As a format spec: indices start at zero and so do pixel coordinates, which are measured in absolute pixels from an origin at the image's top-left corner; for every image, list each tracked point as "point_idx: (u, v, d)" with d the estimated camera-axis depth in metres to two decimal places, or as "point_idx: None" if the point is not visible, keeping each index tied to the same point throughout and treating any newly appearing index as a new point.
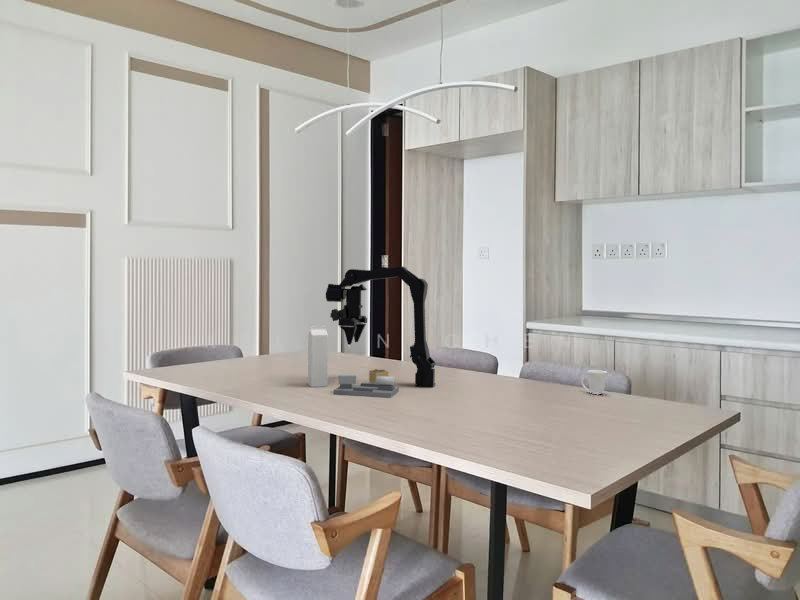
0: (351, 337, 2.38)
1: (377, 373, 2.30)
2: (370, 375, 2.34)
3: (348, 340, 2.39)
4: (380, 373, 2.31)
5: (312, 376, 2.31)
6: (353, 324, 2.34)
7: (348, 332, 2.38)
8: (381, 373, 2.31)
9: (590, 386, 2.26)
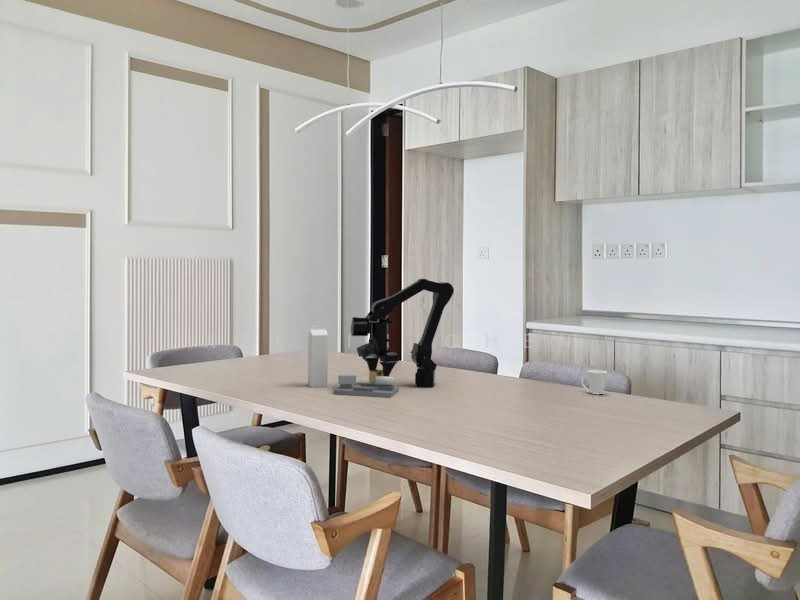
0: (389, 372, 2.29)
1: (377, 373, 2.30)
2: (370, 375, 2.34)
3: None
4: (380, 373, 2.31)
5: (312, 376, 2.31)
6: (398, 359, 2.27)
7: (386, 367, 2.29)
8: (381, 373, 2.31)
9: (590, 386, 2.26)
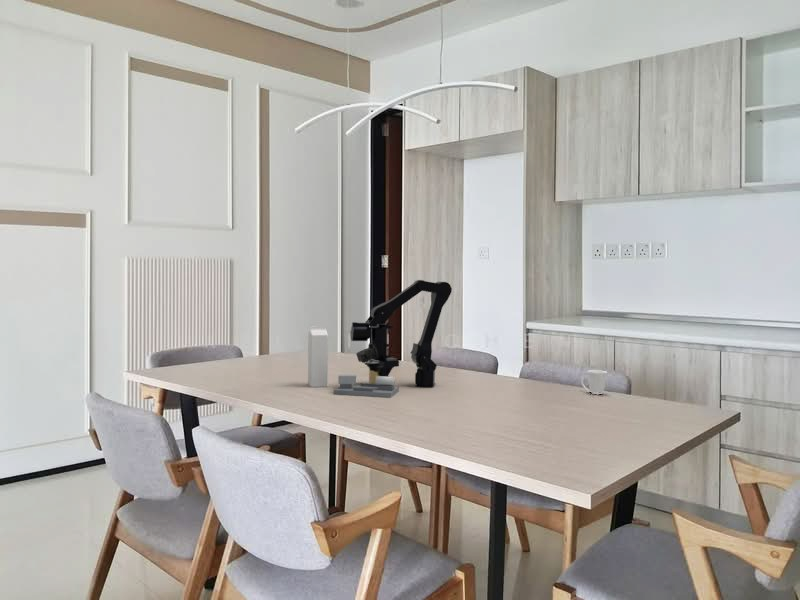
0: None
1: (377, 373, 2.30)
2: (370, 375, 2.34)
3: None
4: None
5: (312, 376, 2.31)
6: (398, 364, 2.27)
7: (383, 372, 2.30)
8: None
9: (590, 386, 2.26)
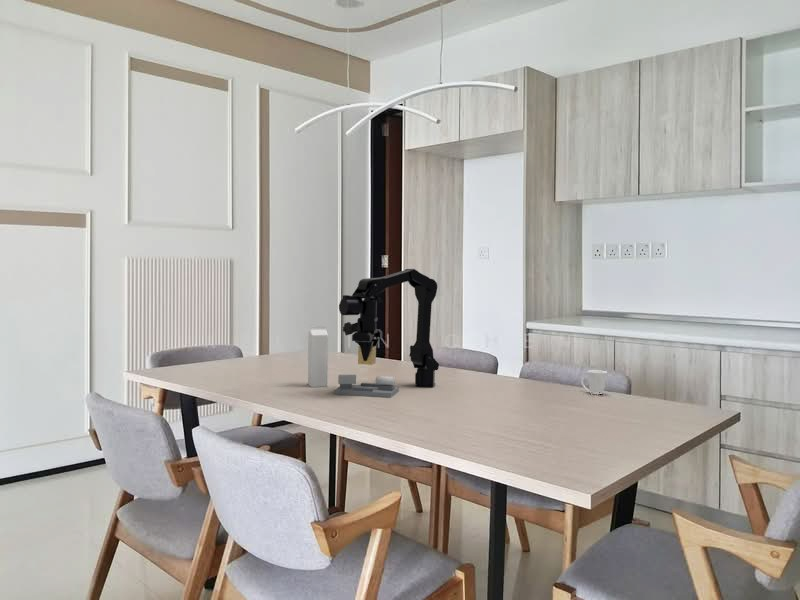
0: (367, 353, 2.18)
1: (359, 348, 2.20)
2: None
3: (364, 356, 2.19)
4: None
5: (312, 376, 2.31)
6: (368, 339, 2.12)
7: (364, 347, 2.18)
8: None
9: (590, 386, 2.26)
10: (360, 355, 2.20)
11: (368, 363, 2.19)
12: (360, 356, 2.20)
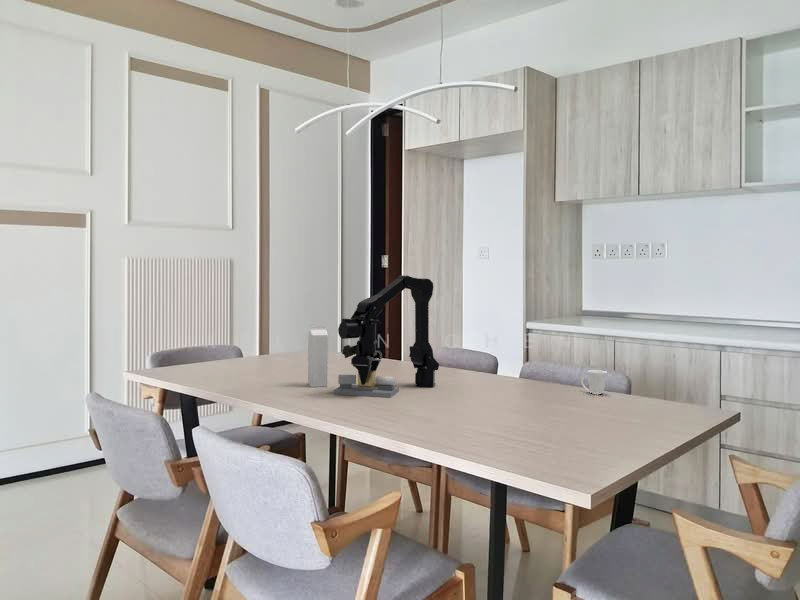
0: (365, 377, 2.16)
1: None
2: None
3: (362, 380, 2.17)
4: None
5: (312, 376, 2.31)
6: (368, 363, 2.12)
7: (362, 371, 2.16)
8: None
9: (590, 386, 2.26)
10: (359, 380, 2.20)
11: None
12: (360, 381, 2.20)
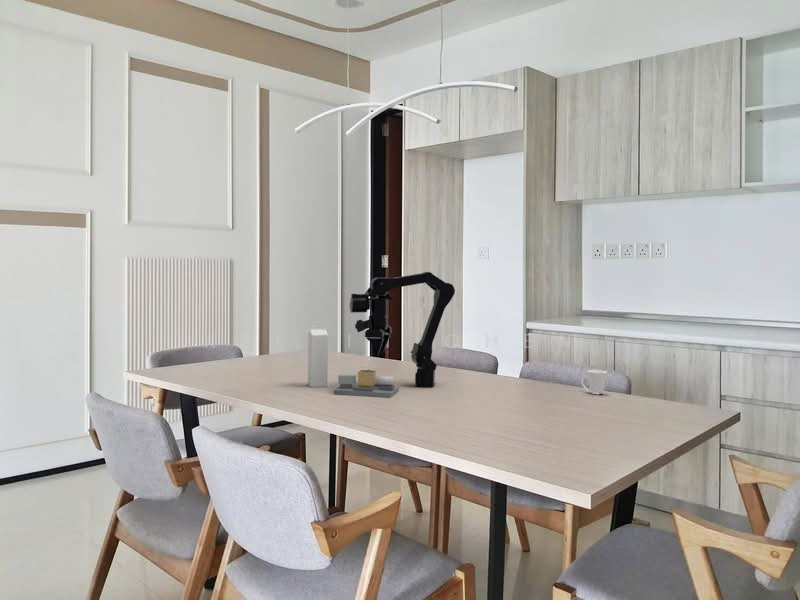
0: (378, 349, 2.28)
1: (359, 373, 2.20)
2: None
3: (375, 352, 2.28)
4: (362, 373, 2.19)
5: (312, 376, 2.31)
6: (381, 335, 2.24)
7: (375, 343, 2.28)
8: (364, 373, 2.19)
9: (590, 386, 2.26)
10: (359, 380, 2.20)
11: None
12: (360, 381, 2.20)
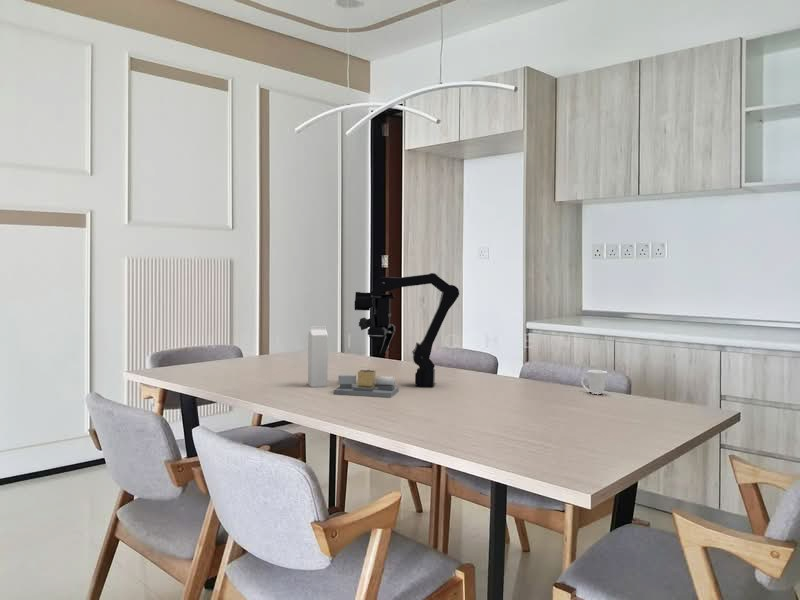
0: (380, 347, 2.31)
1: (359, 373, 2.20)
2: None
3: (377, 350, 2.32)
4: (362, 373, 2.19)
5: (312, 376, 2.31)
6: (383, 333, 2.28)
7: (377, 341, 2.32)
8: (364, 373, 2.19)
9: (590, 386, 2.26)
10: (359, 380, 2.20)
11: None
12: (360, 381, 2.20)
